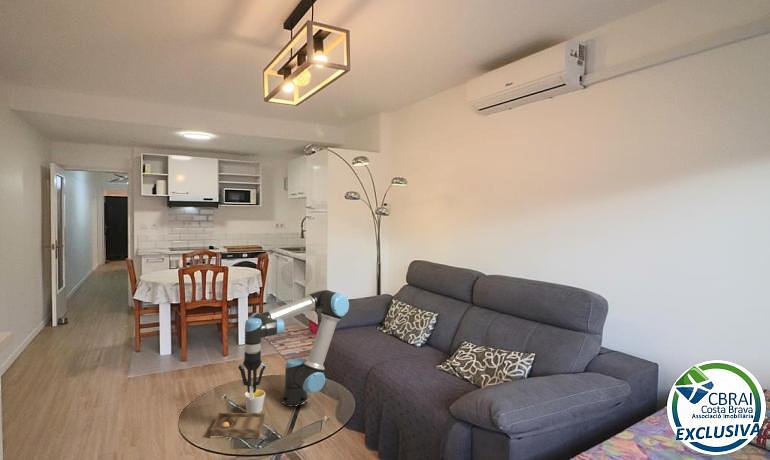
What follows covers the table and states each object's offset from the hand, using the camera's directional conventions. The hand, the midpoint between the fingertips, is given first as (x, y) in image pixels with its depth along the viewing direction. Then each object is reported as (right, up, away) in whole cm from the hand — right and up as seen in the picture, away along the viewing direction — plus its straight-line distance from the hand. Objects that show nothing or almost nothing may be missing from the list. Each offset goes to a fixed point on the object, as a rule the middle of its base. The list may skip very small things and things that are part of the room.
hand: (251, 398), depth 203 cm
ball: (-12, -12, -1) cm, 17 cm away
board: (-6, -15, 0) cm, 16 cm away
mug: (-4, -14, +18) cm, 23 cm away
